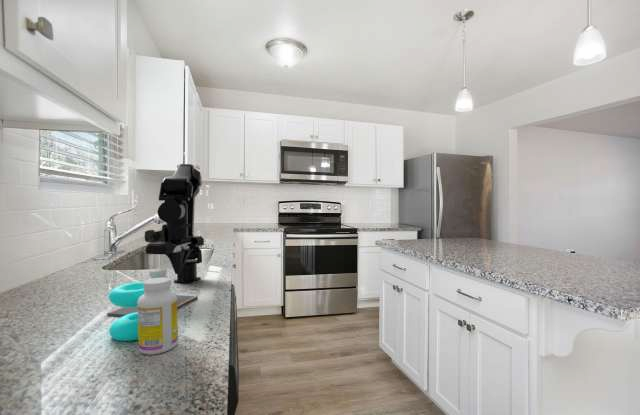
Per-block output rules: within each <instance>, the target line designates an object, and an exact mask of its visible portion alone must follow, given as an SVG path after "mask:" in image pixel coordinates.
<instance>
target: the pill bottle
mask: <svg viewBox="0 0 640 415" xmlns="http://www.w3.org/2000/svg"><path fill="white" fill-rule="evenodd" d="M167 273H168V270H167V268H164V267H163V268H153V269H150V270H149V278H148V279H147V280H149V279H153V278H169V277H168V276H166V275H167Z"/></svg>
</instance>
